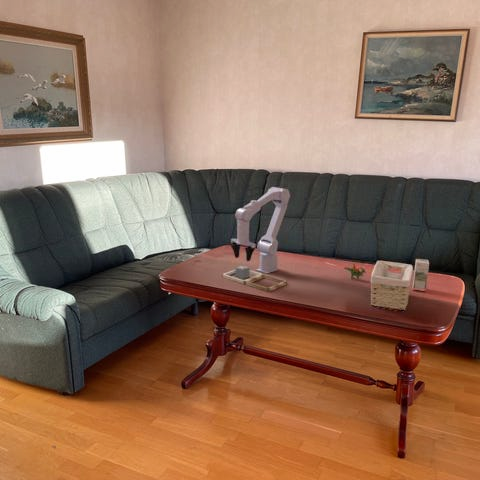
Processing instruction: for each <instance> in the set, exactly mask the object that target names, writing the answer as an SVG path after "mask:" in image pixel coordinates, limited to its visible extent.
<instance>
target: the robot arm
mask: <svg viewBox="0 0 480 480" xmlns="http://www.w3.org/2000/svg"><path fill="white" fill-rule="evenodd" d="M290 198H291V194H290V190H288V188H282V187H281V188H280V187H276V186H272V187H270V188H269V189H268V190H267V192H266V193H265V194H263V195H262V196H261V197H259V198H258V199H257V200H254V199H252V200H250V203H248V204H246V205H244V206H243V207H240V208H238V209H237V210H236V211H235V214H234V216H235V219H236V224H237V228H236V229H237V232H236V233H237V235H236V237H237V238H231V239H230V247H231V248H232V250H233V251H232V252H233V254H234V257H235V259H237V258H239V257H240V250H241V246H245V248H244V250H245V254H246V256H245V257H246V262H250V261H251V259H252V256H253V253H254V251H255V250H256V248H257V251H258V253H259V254H260V255H259V268H256V269H255V270H256V272H260V273H261V272H262V273H265V274H271V273H273V272H275V271H278V270H279V268H278V259H279V257H278V256H277V254H276V253H277V251H278V245H279V242H278V240H277V237H278V234H279V231H280V227H281V224H282V222H283V219H284V217H285V214H286V211H287V208H288V203H289V202H290V201H289V200H290ZM271 201H272V202H273V203H274V205H275V209H274V211H273V213H272V216H271V219H270V223H269V225H268V228H267V230H266V232H265V233H266V234H264V235H263V236H261V239H260V240H259V241H258V242H257V244H256V243H255V242H251V241H250V221H251V219H252V218H253V216H254V215H255V214H257V212H259V211H261V209H262V207H263V206H264V205H266V204H267V203H270V202H271Z"/></svg>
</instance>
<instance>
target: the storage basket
mask: <svg viewBox="0 0 480 480" xmlns="http://www.w3.org/2000/svg"><path fill="white" fill-rule="evenodd" d="M389 268H390V269H396V270H397V269H398V270H401V271H400V272H393V271H389ZM413 274H414V266H413V265H412V264H407V263H403V262H402V263H401V262H395V261H394V262H393V261H385V260H377V261H376V263H375V264H374V267H373V270H372V272H371V276H370V285H371V286H370V288H371V289H370V291H371V292H370V306H371V305H374V306H383V307H390V308H396V309H400V308H401V309H404V310H405V311H406V309H407V307H406V306H408V303H409V296H410V286H411V283H412V277H413ZM405 308H406V309H405Z"/></svg>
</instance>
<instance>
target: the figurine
mask: <svg viewBox="0 0 480 480" xmlns="http://www.w3.org/2000/svg"><path fill="white" fill-rule="evenodd" d="M352 265H353V267H349V266H347V267H346V266H345V267H343V269H344V270H347V271H348V272H350V274H351V275H350V279H351V280H352V279H353V280H354V276H355V277H356V280H357V281H358V280H359V279H360V277H363V276H364V274H367V272H366V270H365V268H363V267H362V266H361V267H360V268H358V267H357V268H356V264H355V263H353V264H352Z"/></svg>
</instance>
